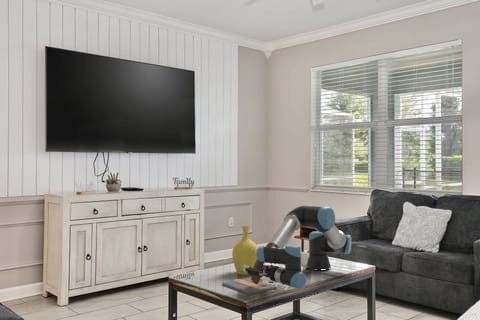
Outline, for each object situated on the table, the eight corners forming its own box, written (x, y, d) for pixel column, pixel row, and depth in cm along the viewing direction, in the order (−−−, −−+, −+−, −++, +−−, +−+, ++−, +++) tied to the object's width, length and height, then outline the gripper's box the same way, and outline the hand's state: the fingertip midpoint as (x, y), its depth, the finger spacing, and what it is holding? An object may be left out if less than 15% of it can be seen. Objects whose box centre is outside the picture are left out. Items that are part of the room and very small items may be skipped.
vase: (227, 274, 270) (227, 227, 270) (240, 268, 284) (240, 223, 284) (251, 277, 262) (251, 228, 263) (263, 271, 276) (263, 225, 277)
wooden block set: (258, 289, 227) (266, 271, 226) (243, 281, 229) (251, 263, 228) (268, 279, 244) (275, 262, 243) (253, 271, 247) (260, 254, 245)
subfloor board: (248, 279, 256) (248, 277, 256) (276, 288, 237) (276, 286, 237) (222, 284, 246) (222, 282, 246) (249, 294, 226) (249, 291, 226)
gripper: (262, 286, 216) (234, 276, 234) (295, 279, 229) (266, 270, 247) (262, 270, 216) (234, 262, 234) (295, 264, 229) (266, 257, 247)
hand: (250, 266), depth 240 cm, fingers open, 9 cm apart
